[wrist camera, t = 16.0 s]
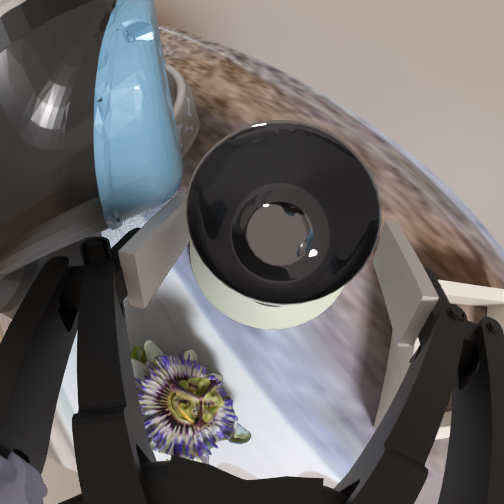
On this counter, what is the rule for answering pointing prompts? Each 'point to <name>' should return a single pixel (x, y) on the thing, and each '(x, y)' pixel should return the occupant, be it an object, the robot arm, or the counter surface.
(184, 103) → the dog bowl
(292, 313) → the plate
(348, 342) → the counter surface
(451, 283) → the holder
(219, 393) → the passion flower
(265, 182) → the wine glass
